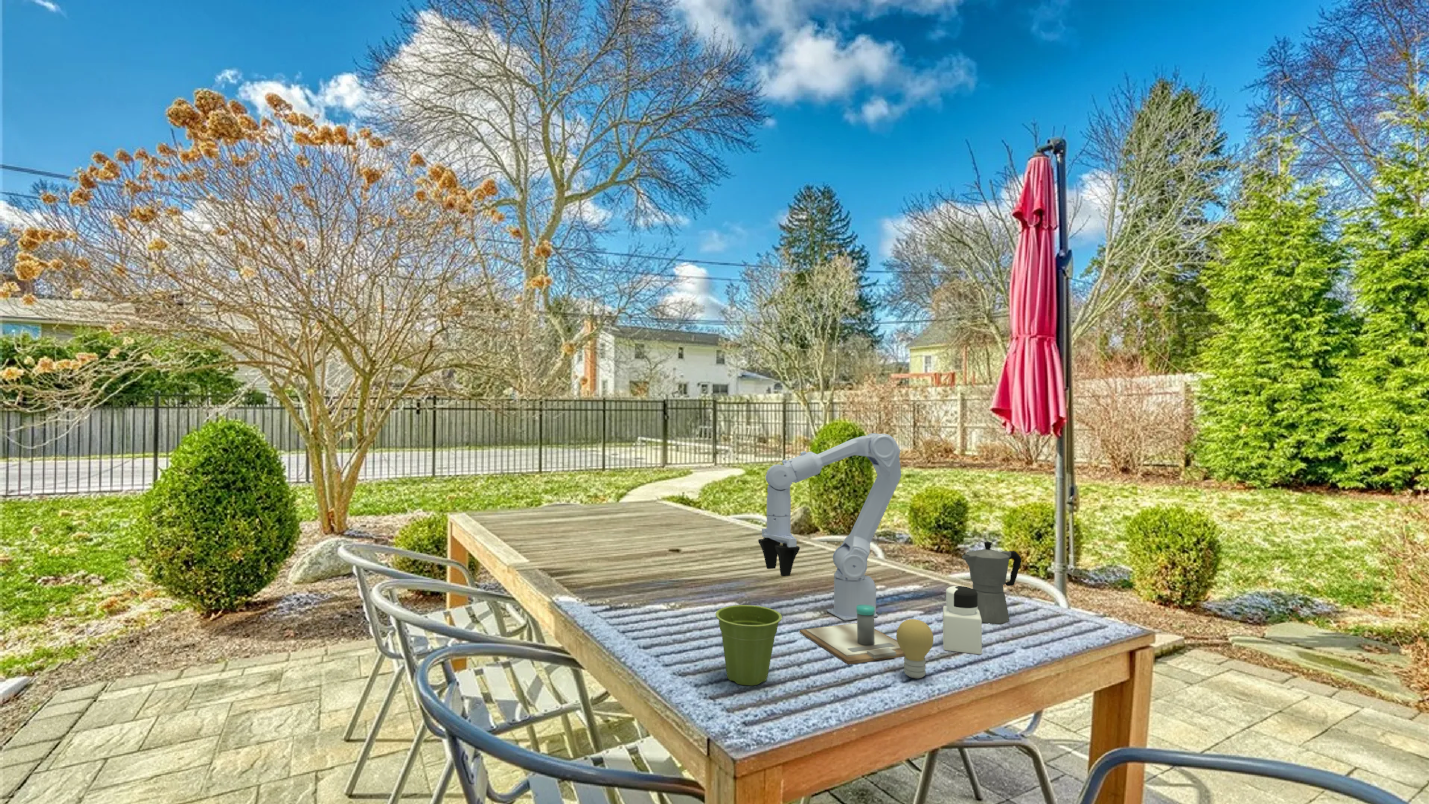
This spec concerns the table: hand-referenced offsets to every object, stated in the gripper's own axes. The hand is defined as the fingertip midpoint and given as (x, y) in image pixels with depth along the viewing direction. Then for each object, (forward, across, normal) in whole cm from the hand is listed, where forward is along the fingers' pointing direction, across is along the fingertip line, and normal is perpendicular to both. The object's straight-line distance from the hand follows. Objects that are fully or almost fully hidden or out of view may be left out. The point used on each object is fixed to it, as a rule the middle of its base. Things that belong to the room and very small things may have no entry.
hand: (778, 572), depth 149 cm
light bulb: (+10, +41, +7) cm, 43 cm away
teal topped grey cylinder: (+9, +26, +7) cm, 28 cm away
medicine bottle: (+10, +32, +26) cm, 42 cm away
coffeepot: (+10, +19, +47) cm, 52 cm away
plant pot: (+10, +32, -22) cm, 40 cm away
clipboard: (+10, +23, +6) cm, 26 cm away
